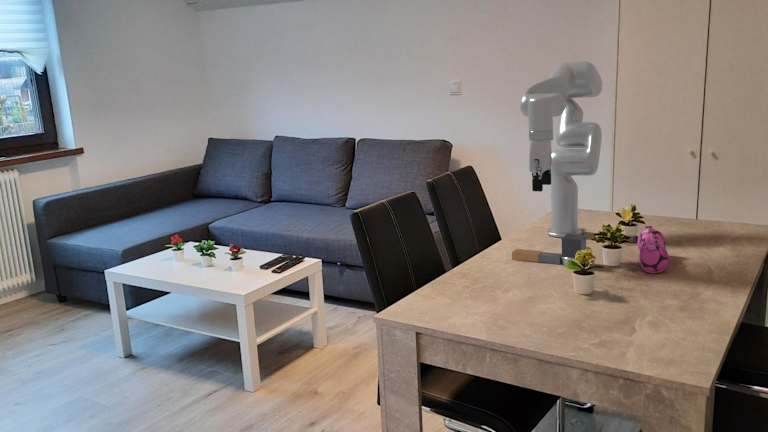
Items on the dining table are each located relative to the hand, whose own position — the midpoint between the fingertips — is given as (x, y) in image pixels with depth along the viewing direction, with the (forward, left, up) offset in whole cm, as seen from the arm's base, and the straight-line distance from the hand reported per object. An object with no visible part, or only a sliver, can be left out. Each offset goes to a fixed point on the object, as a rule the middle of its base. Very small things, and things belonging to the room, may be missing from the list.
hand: (542, 187), depth 215 cm
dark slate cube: (+5, +12, -20) cm, 24 cm away
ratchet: (+5, +4, -23) cm, 24 cm away
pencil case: (-3, +34, -24) cm, 41 cm away
